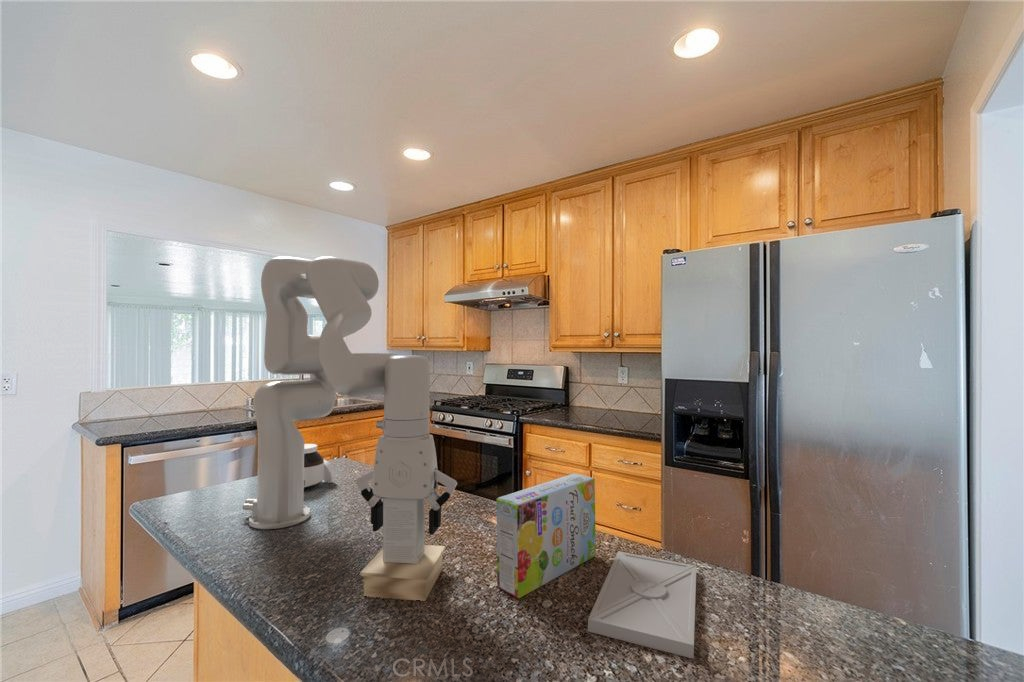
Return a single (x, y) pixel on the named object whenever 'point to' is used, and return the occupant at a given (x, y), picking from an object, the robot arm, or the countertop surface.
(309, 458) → the spread jar
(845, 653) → the countertop surface
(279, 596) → the countertop surface
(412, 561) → the skincare box
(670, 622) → the envelope
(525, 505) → the snack box
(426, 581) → the pedestal
